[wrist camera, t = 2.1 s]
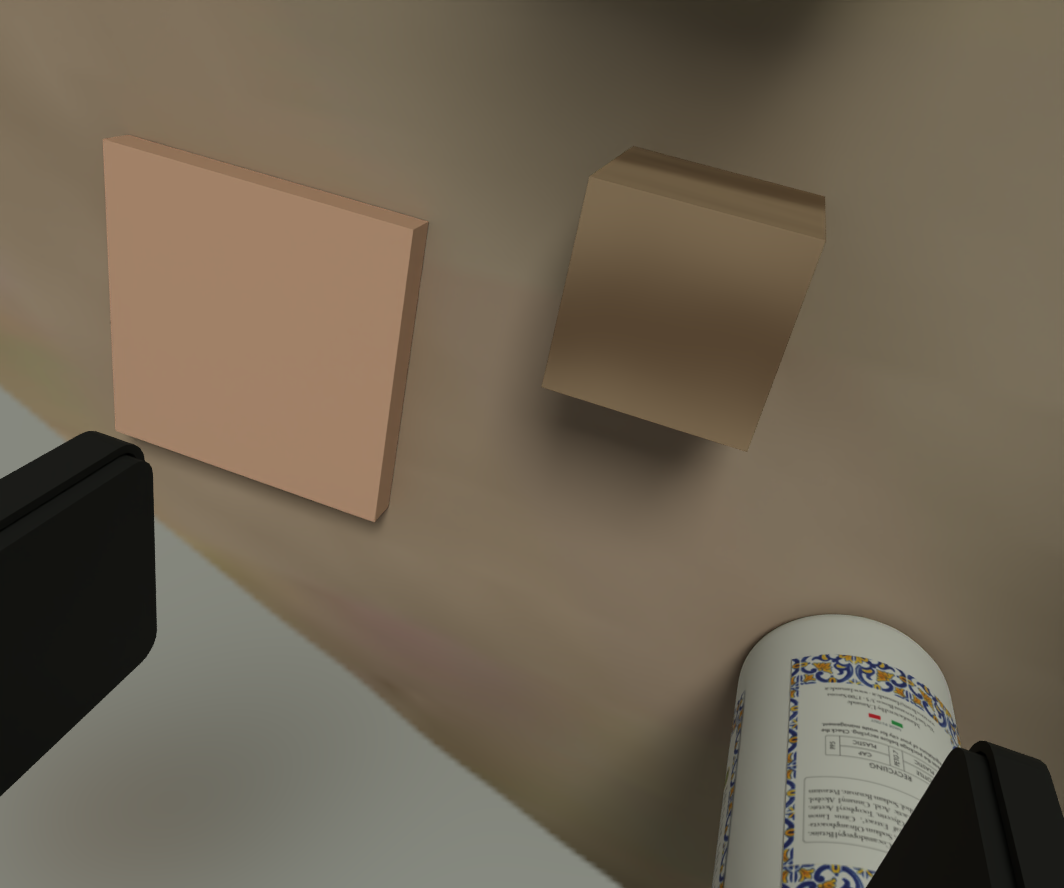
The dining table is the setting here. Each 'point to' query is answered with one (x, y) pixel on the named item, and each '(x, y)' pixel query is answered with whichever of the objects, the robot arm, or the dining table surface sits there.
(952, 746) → the bath foam
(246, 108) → the dining table surface
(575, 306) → the walnut cube
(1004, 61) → the dining table surface
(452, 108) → the dining table surface
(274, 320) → the terracotta tile
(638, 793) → the dining table surface
